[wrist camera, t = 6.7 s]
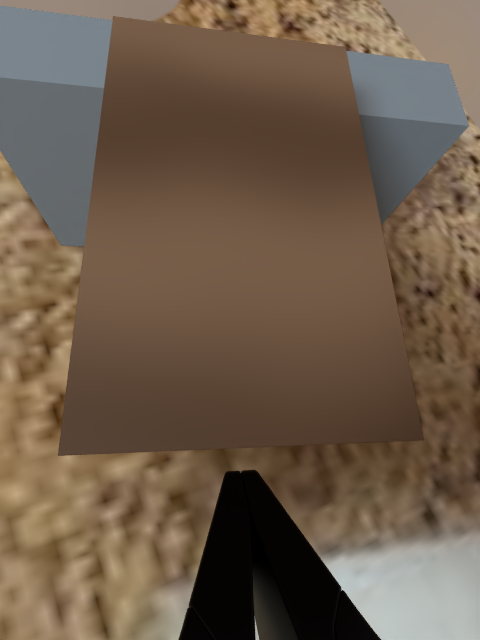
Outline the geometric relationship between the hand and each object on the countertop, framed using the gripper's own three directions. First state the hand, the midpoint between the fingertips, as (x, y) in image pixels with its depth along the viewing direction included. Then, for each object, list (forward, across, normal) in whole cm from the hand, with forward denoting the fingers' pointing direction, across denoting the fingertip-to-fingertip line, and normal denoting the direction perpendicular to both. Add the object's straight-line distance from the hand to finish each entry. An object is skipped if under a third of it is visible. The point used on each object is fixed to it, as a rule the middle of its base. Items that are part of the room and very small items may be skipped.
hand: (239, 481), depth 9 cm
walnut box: (+9, 0, +1) cm, 9 cm away
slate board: (+14, 0, -4) cm, 14 cm away
